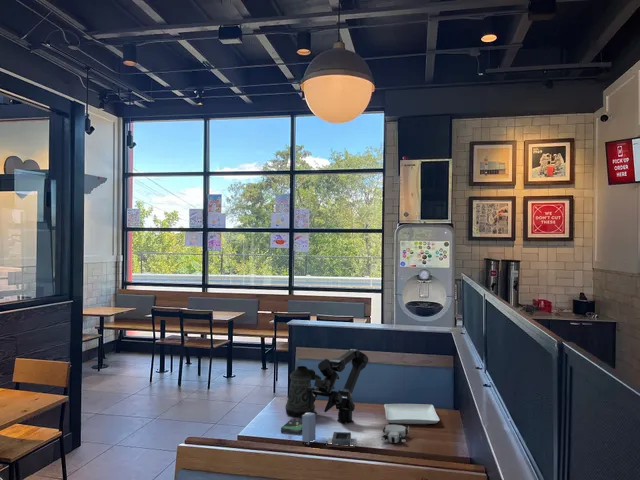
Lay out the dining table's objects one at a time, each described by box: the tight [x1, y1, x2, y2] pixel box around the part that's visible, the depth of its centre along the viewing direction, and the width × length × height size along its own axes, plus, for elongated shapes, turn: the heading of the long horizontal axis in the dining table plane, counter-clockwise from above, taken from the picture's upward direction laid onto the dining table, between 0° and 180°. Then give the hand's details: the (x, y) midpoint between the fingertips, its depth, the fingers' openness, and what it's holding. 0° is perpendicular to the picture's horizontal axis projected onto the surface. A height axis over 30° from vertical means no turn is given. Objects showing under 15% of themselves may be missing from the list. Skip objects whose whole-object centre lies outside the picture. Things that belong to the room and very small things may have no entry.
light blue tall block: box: [301, 412, 317, 445], centre depth 217 cm, size 6×4×13 cm, turn 146°
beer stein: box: [284, 365, 322, 418], centre depth 261 cm, size 16×19×25 cm
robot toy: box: [380, 424, 410, 444], centre depth 219 cm, size 12×4×15 cm
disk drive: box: [280, 418, 302, 435], centre depth 235 cm, size 10×3×15 cm
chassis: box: [326, 431, 357, 446], centre depth 214 cm, size 10×13×4 cm
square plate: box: [383, 403, 440, 425], centre depth 250 cm, size 27×27×4 cm
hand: (316, 410), depth 223 cm, fingers open, 9 cm apart
